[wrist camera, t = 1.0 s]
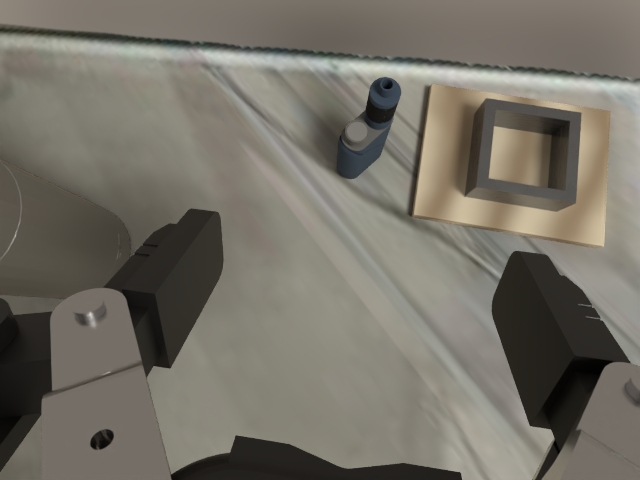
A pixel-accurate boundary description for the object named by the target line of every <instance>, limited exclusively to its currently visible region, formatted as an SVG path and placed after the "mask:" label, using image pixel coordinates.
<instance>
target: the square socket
mask: <svg viewBox="0 0 640 480" xmlns="http://www.w3.org/2000/svg"><path fill="white" fill-rule="evenodd" d="M581 115H582V113H581V112H574V111H568V110H561V109H555V108H548V107H542V106H535V105H529V104H522V103H516V102H509V101H503V100H496V99H490V98H486V99H485V100H484V101H483V103H482V104H481V105H480V107H479V108H478V109H477V111H476V112H475V113H474V120H473V128H472V137H471V146H470V154H469V163H468V172H467V180H466V189H465V197H469V198H475V199H481V200H487V201H493V202H499V203H505V204H512V205H518V206H524V207H530V208H536V209H542V210H548V211H554V212H557V211H560V210H562V209H564V208H567V207H569V206H571V205H573V204H576V196H577V180H578V163H579V147H580V131H581ZM494 126H496V127H502V128H508V129H515V130H521V131H527V132H534V133H540V134H547V135H552V137H551V150H550V163H549V176H548V188H545V187H539V186H533V185H527V184H521V183H514V182H508V181H502V180H496V179H490V178H489V170H490V160H491V151H492V141H493V132H494Z"/></svg>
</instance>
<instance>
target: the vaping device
mask: <svg viewBox="0 0 640 480" xmlns="http://www.w3.org/2000/svg"><path fill="white" fill-rule="evenodd" d="M400 96H401V88H400V86H399V84H398V83H397V82H396V81H395V80H393V79H391V78H387V77H383V78H379V79H377V80H375V81H374V82H373V83H372V85H371V87H370V91H369V96H368V101H367V106H366V110H365V111H364V112H363V113H362V114H361V115H359V116H358V117H357V118H356V119H355V120H353V121H351V122H349V123H348V124H347V126H346V128H345V129H344V130H343V131H342V135H341V136H340V138H339V144H338V156H337V168H338V171H339V172H340V174H341V175H343V176H344V177H346V178H348V179H354V178H356V177H358V176H359V175H360V174H361V173H362V172H363V171H364V170H365V169H367V168H368V167H369V166H370V165H371V164H372V163H373V162H374V161H375V160H377V159H378V158H379V157H380V155H381V152H382V149H383V147H384V144H385V141H386V138H387V135H388V132H389V130H390V127H391V124H392V122H393V116H394V113H395V110H396V107H397V104H398V101H399V99H400Z"/></svg>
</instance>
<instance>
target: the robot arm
mask: <svg viewBox="0 0 640 480" xmlns="http://www.w3.org/2000/svg"><path fill="white" fill-rule="evenodd" d="M129 255H130V239H129V236H128V232H127V230H126V228H125V226H124V225H123V223H122V222H121V221H120V220H119V218H118V217H117V216H115V215H114V214H112V213H111V212H110V211H108V210H106V209H103V208H101V207H99V206H97V205H95V204H93V203H91V202H89V201H87V200H85V199H83V198H81V197H79V196H76V195H74V194H72V193H70V192H68V191H66V190H64V189H62V188H60V187H58V186H55V185H53V184H51V183H49V182H47V181H45V180H43V179H41V178H39V177H37V176H34V175H32V174H30V173H28V172H26V171H24V170H22V169H20V168H18V167H16V166H13V165H11V164H9V163H7V162H5V161H3V160H1V159H0V295H11V296H28V297H44V298H59V299H65V300H63V301H62V302H61V303H60V304H59V305H58V306H57V307H56V308H55V309H54V311H53V312H44V313H33V314H22V315H13V313H12V311H11V309H10V307H9V305H8V303H7V302H6V301H5V300H3V299H1V298H0V471H1V470H2V469H3V467H4V466H5V464H6V463H7V462H8V460H9V459H10V457H11V456H12V455H13V453H14V452H15V450H16V449H17V448H18V446H19V445H20V444H21V442H22V441H23V439H24V438H25V437H26V435H27V434H28V432H29V431H30V430H31V428H32V427H33V425H34V424H35V423H36V421H37V420H38V418H39V417H40V416H41V414H42V480H462V477H461V473H460V472H454V471H448V470H442V469H436V468H430V467H424V466H418V465H412V464H406V463H401V464H391V465H382V466H372V467H363V468H353V469H346V468H341V467H339V466H336V465H334V464H332V463H330V462H328V461H325V460H323V459H321V458H319V457H317V456H314V455H312V454H310V453H308V452H305V451H303V450H301V449H299V448H297V447H294V446H292V445H290V444H285V443H279V442H273V441H267V440H261V439H255V438H248V437H242V436H235V440H234V443H233V446H232V449H231V452H230V453H225V454H219V455H215V456H211V457H207V458H204V459H201V460H199V461H196V462H193V463H191V464H189V465H187V466H185V467H183V468H181V469H179V470H178V471H176V472H175V473H173V474H171V472H170V468H169V464H168V460H167V456H166V452H165V449H164V445H163V441H162V437H161V433H160V429H159V425H158V421H157V417H156V413H155V409H154V405H153V401H152V397H151V393H150V389H149V386H148V382H147V376H148V374H149V373H150V371H151V369H152V368H153V366H158V367H164V368H171V366H172V364H173V363H174V361H175V359H176V357H177V355H178V353H179V352H180V350H181V348H182V346H183V344H184V342H185V341H186V339H187V337H188V335H189V333H190V331H191V330H192V328H193V326H194V324H195V322H196V320H197V319H198V317H199V315H200V313H201V311H202V309H203V308H204V306H205V304H206V302H207V300H208V298H209V297H210V295H211V293H212V291H213V289H214V287H215V286H216V284H217V282H218V280H219V278H220V276H221V272H222V268H223V245H222V232H221V219H220V215H219V213H218V212H215V211H207V210H199V209H189V210H188V211H187V212H186V214H185V215H184V216H183V217H182V218H181V219H180V221H179V222H178V223H177V224H168V225H166V226H164V227H162V228H160V229H159V230H157V231H155V232H153V233H152V235H151V236H150V237H149V238H148V239H147V240H146V241H145V242H144V243H143V246H141V247H140V248H139V249H138V250H137V251H136V252H135V255H132V256H131V257H130V259H129ZM492 316H493V320H494V322H495V325H496V328H497V331H498V334H499V337H500V340H501V343H502V346H503V349H504V352H505V355H506V357H507V360H508V363H509V366H510V369H511V372H512V375H513V378H514V381H515V384H516V387H517V390H518V392H519V395H520V398H521V401H522V404H523V407H524V410H525V413H526V416H527V419H528V422H529V425H530V426H533V427H540V428H546V429H551V430H552V432H553V435H554V440H553V441H552V442H551V444H550V445H549V447H548V449H547V451H546V453H545V455H544V457H543V459H542V461H541V463H540V465H539V467H538V469H537V471H536V473H535V475H534V477H533V479H532V480H640V366H637V365H634V364H631V363H630V361H629V360H628V358H627V357H626V355H625V354H624V352H623V351H622V349H621V348H620V346H619V345H618V343H617V342H616V340H615V339H614V337H613V336H612V334H611V333H610V331H609V330H608V328H607V327H606V325H605V324H604V322H603V321H600V316H599V315H598V313H597V312H596V310H595V309H594V308H592V304H591V303H590V301H589V300H588V298H587V297H586V295H585V294H584V292H583V291H582V290H581V289H580V288H579V287H578V286H577V285H575V284H574V283H573V282H572V281H571V280H569V279H568V278H567V277H566V276H561V275H560V274H559V273H558V271H557V269H556V268H555V266H554V265H553V263H552V261H551V260H550V258H549V257H548V256H547V255H545V254H537V253H529V252H521V251H515V252H513V253H512V254H511V256H510V258H509V260H508V262H507V265H506V267H505V270H504V272H503V274H502V277H501V279H500V282H499V284H498V286H497V289H496V291H495V294H494V297H493V301H492Z"/></svg>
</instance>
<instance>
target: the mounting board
mask: <svg viewBox="0 0 640 480" xmlns="http://www.w3.org/2000/svg"><path fill="white" fill-rule="evenodd" d="M486 98H490V99H496V100H503V101H509V102H516V103H522V104H529V105H535V106H542V107H548V108H555V109H561V110H568V111H574V112H581V113H582V115H581V131H580V147H579V163H578V180H577V196H576V204H573V205H571V206H569V207H567V208H564V209H562V210H560V211H557V212H554V211H548V210H542V209H536V208H530V207H524V206H518V205H512V204H505V203H499V202H493V201H487V200H481V199H475V198H469V197H465V189H466V180H467V172H468V163H469V154H470V146H471V137H472V128H473V120H474V113H475V112H476V111H477V109H478V108H479V107H480V105H481V104H482V103H483V101H484V100H485V99H486ZM609 131H610V111H607V110H600V109H593V108H587V107H580V106H574V105H567V104H561V103H554V102H548V101H541V100H535V99H528V98H522V97H515V96H508V95H502V94H495V93H489V92H482V91H476V90H469V89H463V88H456V87H450V86H443V85H437V84H432V85H431V87H430V89H429V95H428V102H427V109H426V117H425V124H424V131H423V138H422V145H421V153H420V160H419V167H418V174H417V181H416V188H415V196H414V203H413V210H412V217H414V218H420V219H426V220H432V221H438V222H444V223H450V224H456V225H462V226H468V227H474V228H480V229H486V230H492V231H498V232H504V233H509V234H515V235H521V236H527V237H533V238H539V239H545V240H551V241H557V242H563V243H569V244H575V245H581V246H587V247H593V248H600V247H604V235H605V214H606V193H607V173H608V152H609ZM551 137H552V135H547V134H540V133H534V132H527V131H521V130H515V129H508V128H502V127H496V126H494V132H493V141H492V151H491V160H490V170H489V178H490V179H496V180H502V181H508V182H514V183H521V184H527V185H533V186H539V187H545V188H548V176H549V163H550V150H551Z"/></svg>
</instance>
